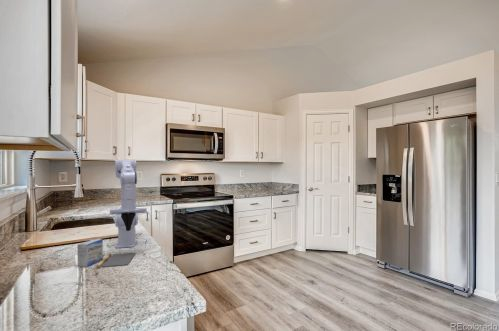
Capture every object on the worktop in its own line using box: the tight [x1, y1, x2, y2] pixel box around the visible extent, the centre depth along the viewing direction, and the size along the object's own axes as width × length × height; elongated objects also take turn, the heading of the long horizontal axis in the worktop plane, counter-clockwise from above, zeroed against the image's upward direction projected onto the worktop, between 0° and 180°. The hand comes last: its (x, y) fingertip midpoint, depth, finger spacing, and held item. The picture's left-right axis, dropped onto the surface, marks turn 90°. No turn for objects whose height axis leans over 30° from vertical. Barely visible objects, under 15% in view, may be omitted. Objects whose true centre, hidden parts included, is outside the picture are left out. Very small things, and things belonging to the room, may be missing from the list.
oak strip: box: [96, 252, 112, 270], centre depth 100 cm, size 14×1×1 cm, turn 13°
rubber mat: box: [101, 252, 137, 268], centre depth 102 cm, size 14×9×1 cm, turn 13°
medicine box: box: [77, 238, 104, 268], centre depth 99 cm, size 8×4×9 cm, turn 168°
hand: (128, 230), depth 109 cm, fingers closed
